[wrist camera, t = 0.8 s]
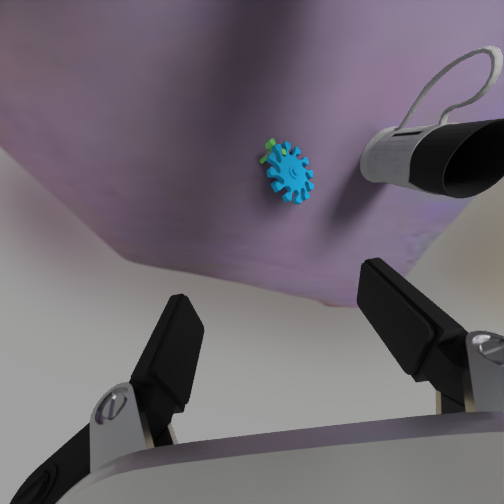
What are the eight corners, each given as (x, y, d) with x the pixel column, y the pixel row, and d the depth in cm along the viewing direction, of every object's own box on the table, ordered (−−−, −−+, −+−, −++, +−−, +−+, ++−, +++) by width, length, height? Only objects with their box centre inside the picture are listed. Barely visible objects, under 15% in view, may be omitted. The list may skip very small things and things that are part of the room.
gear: (324, 182, 32) (297, 213, 28) (299, 194, 37) (272, 222, 33) (292, 123, 29) (255, 147, 24) (269, 145, 34) (235, 168, 29)
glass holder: (358, 188, 34) (427, 212, 21) (362, 94, 27) (468, 46, 14) (406, 175, 34) (508, 192, 21) (423, 75, 26) (594, 5, 14)
